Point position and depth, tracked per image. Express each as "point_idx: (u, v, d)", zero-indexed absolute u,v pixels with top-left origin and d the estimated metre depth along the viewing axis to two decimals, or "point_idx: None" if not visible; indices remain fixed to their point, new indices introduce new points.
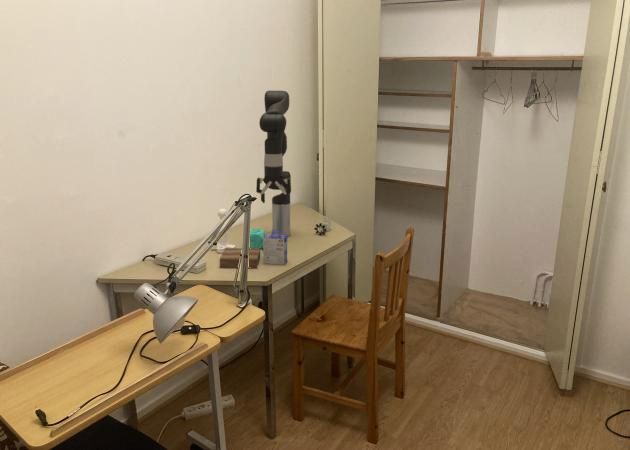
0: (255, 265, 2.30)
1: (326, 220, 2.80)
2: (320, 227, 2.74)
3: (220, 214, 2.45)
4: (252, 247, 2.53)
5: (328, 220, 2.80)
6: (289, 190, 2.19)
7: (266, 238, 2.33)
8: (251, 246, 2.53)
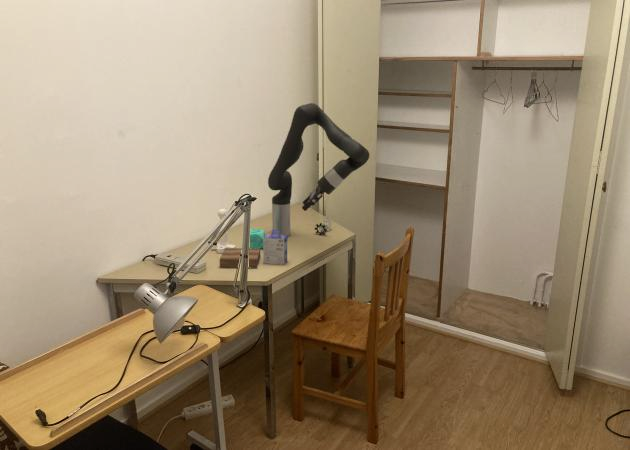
0: (255, 265, 2.30)
1: (326, 220, 2.80)
2: (320, 227, 2.74)
3: (220, 214, 2.45)
4: (252, 247, 2.53)
5: (328, 220, 2.80)
6: None
7: (266, 238, 2.33)
8: (251, 246, 2.53)
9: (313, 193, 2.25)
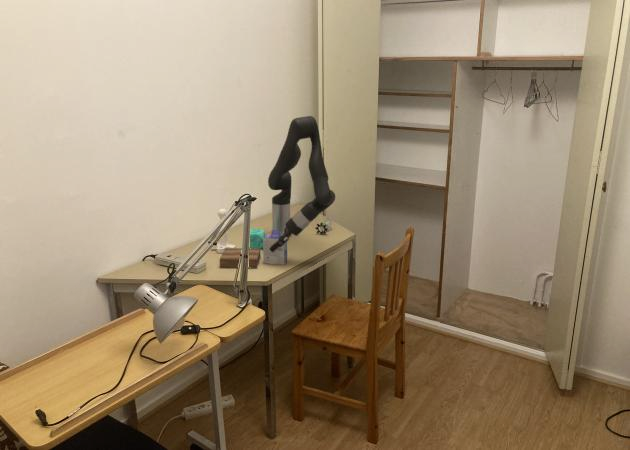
0: (255, 265, 2.30)
1: (327, 219, 2.81)
2: (321, 226, 2.75)
3: (220, 214, 2.45)
4: (252, 247, 2.53)
5: (329, 219, 2.81)
6: None
7: (266, 238, 2.33)
8: (251, 246, 2.53)
9: (281, 235, 2.31)
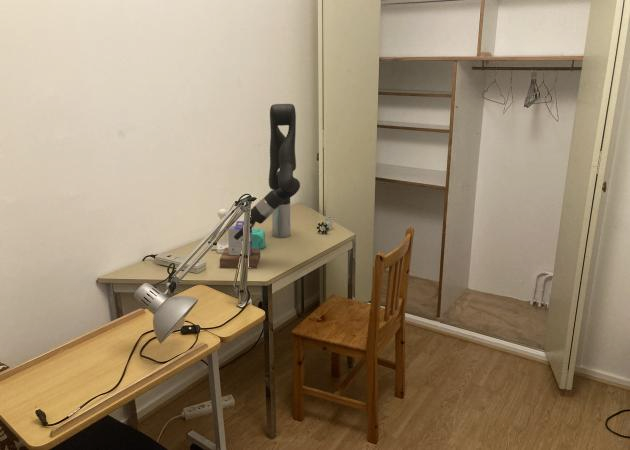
0: (255, 265, 2.30)
1: (328, 219, 2.82)
2: (322, 226, 2.76)
3: (220, 214, 2.45)
4: (252, 247, 2.53)
5: (330, 219, 2.82)
6: None
7: (231, 229, 2.31)
8: None
9: None
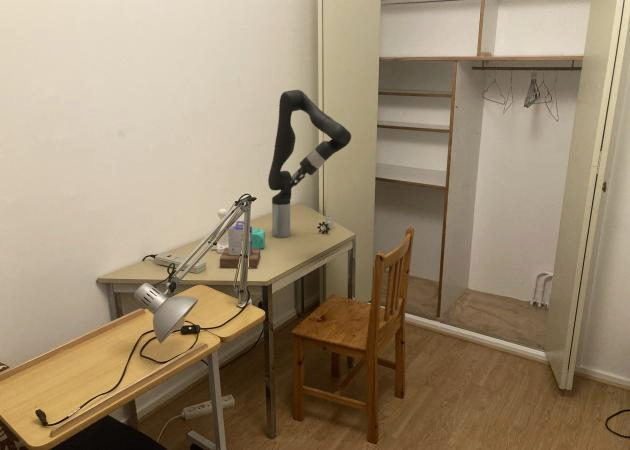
0: (255, 265, 2.30)
1: (328, 219, 2.83)
2: (323, 226, 2.77)
3: (220, 214, 2.45)
4: (252, 247, 2.53)
5: (330, 218, 2.83)
6: None
7: (231, 229, 2.31)
8: None
9: (295, 174, 2.29)
